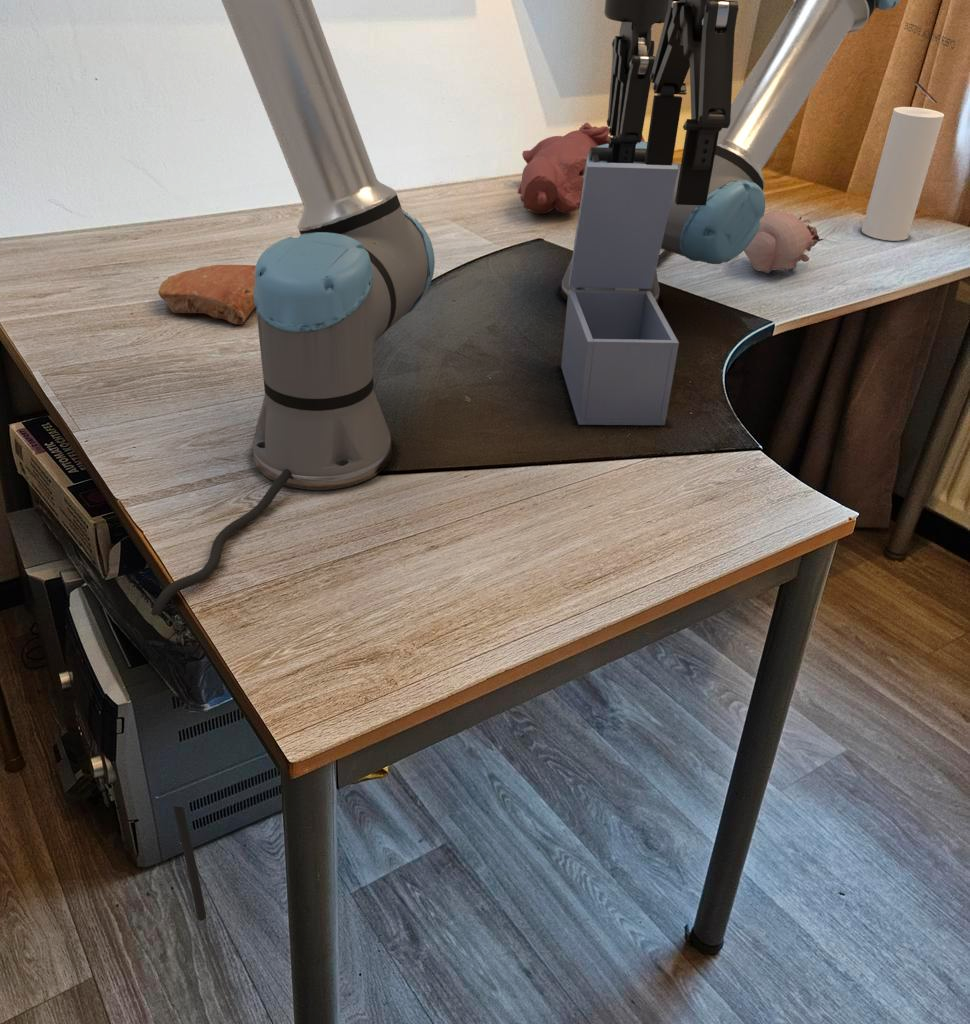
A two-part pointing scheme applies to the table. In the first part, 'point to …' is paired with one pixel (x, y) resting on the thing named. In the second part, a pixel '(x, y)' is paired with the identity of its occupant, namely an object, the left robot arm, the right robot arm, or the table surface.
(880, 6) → the right robot arm
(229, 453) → the table surface
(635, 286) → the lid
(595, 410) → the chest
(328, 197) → the left robot arm
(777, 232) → the toy
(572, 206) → the fabric sculpture
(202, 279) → the ceramic shard
